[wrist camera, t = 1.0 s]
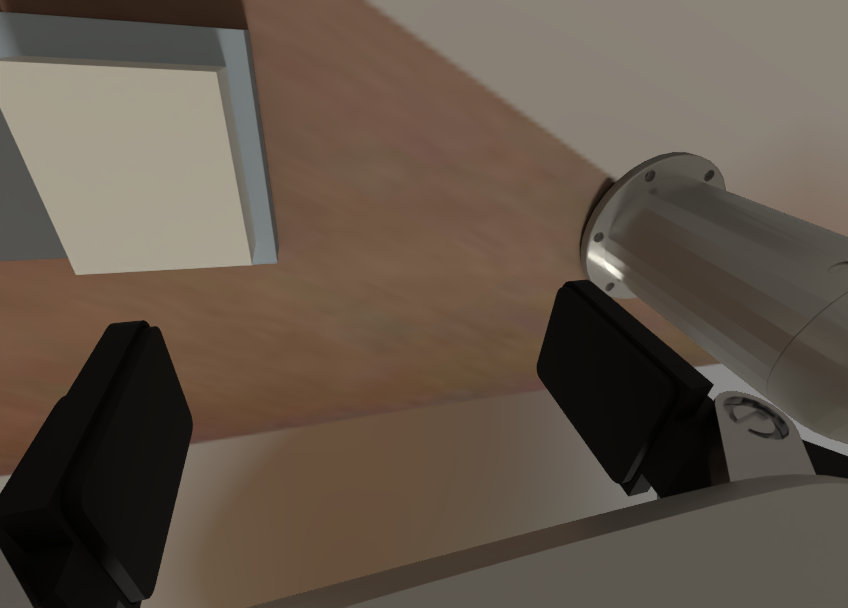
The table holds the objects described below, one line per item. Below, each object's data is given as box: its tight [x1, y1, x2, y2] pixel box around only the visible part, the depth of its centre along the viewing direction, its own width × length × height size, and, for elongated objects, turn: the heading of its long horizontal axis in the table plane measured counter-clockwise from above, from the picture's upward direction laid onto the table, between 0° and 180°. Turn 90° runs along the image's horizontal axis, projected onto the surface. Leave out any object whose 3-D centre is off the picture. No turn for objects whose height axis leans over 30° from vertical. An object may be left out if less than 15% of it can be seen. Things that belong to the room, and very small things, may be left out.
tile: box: [0, 56, 256, 275], centre depth 20 cm, size 8×9×3 cm
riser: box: [0, 12, 279, 264], centre depth 22 cm, size 10×12×2 cm
